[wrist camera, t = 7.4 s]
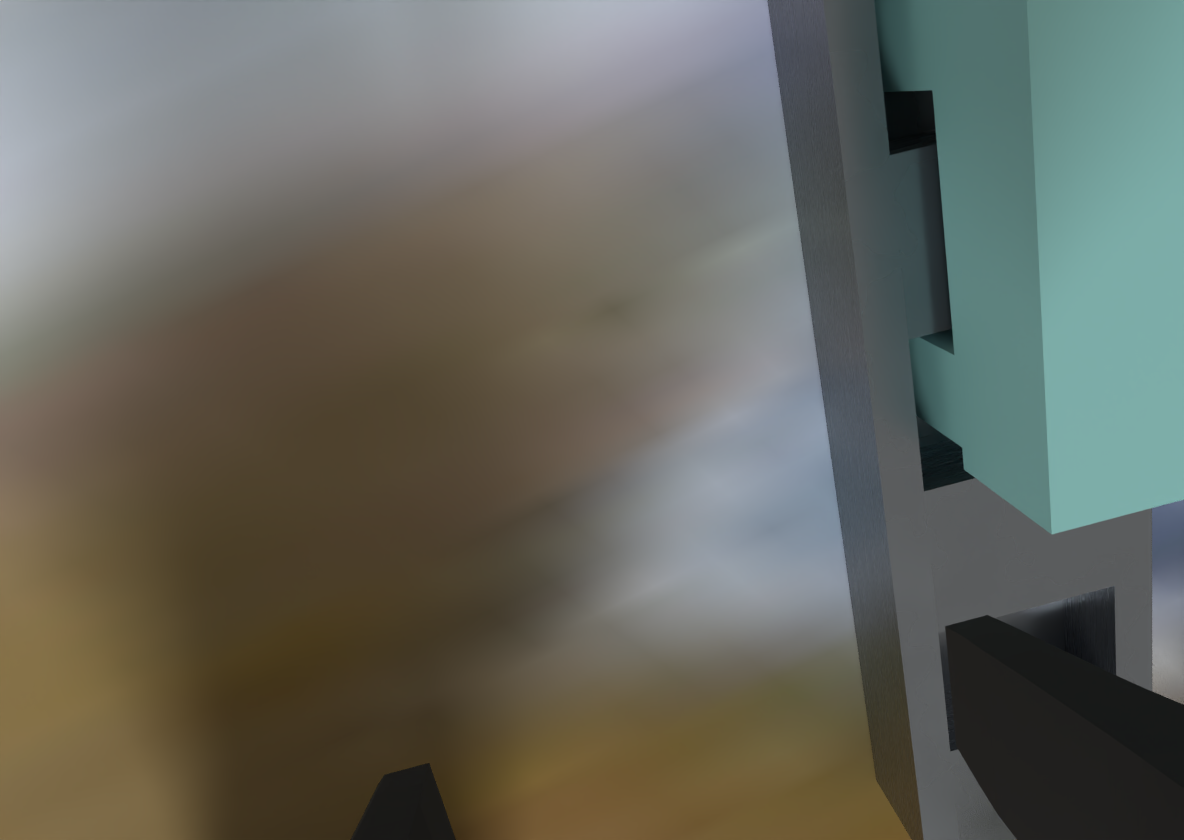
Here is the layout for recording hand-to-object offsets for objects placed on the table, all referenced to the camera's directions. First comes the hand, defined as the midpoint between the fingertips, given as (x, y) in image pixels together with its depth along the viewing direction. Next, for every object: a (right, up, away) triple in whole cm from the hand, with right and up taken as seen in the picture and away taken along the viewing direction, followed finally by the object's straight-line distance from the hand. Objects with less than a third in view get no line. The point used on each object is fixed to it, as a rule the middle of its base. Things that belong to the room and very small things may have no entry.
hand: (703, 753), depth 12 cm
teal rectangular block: (+6, +9, +7) cm, 13 cm away
